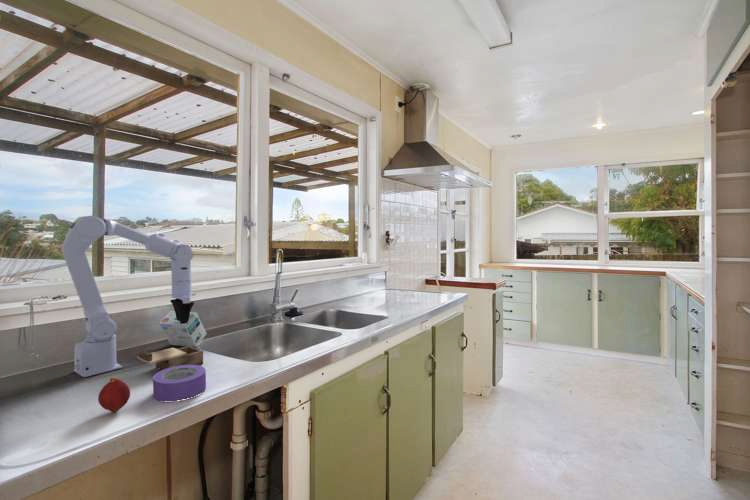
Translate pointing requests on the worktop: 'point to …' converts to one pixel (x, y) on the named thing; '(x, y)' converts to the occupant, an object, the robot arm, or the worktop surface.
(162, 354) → the lid
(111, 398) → the onion
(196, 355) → the walnut box
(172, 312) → the light bulb box
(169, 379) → the tape roll
